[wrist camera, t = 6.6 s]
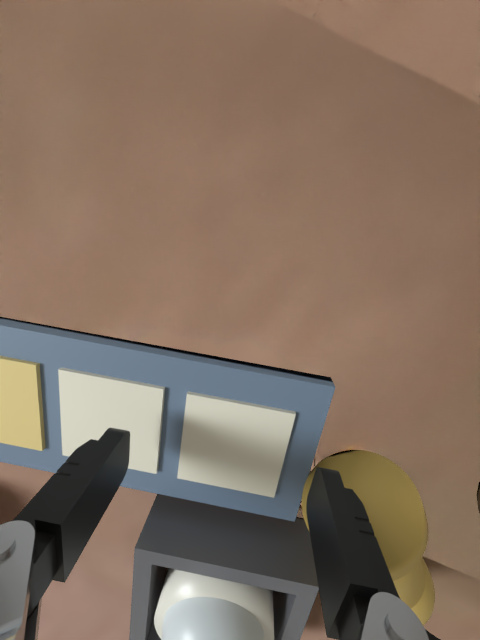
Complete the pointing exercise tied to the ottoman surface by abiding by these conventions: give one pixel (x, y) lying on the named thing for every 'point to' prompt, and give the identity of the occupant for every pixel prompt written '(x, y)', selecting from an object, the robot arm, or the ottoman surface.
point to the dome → (212, 609)
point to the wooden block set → (478, 496)
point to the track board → (162, 415)
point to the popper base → (224, 559)
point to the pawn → (389, 520)
